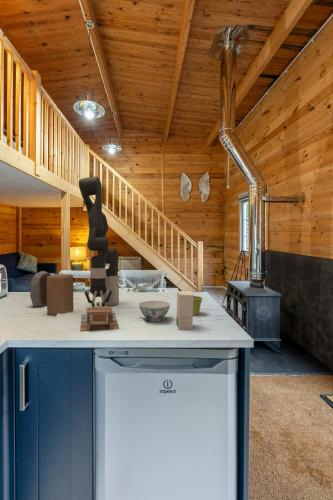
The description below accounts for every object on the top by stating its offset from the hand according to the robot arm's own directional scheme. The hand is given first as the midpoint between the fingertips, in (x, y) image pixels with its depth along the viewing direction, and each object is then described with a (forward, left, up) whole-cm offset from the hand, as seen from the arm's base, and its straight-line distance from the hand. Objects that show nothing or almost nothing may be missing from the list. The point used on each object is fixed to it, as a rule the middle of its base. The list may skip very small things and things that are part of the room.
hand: (98, 310), depth 151 cm
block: (+11, -19, -3) cm, 22 cm away
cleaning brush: (+11, -44, -3) cm, 45 cm away
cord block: (+2, +4, -1) cm, 5 cm away
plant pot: (-39, +29, -3) cm, 49 cm away
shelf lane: (+7, +13, -3) cm, 15 cm away
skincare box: (-19, +41, -3) cm, 46 cm away
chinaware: (-17, +23, -3) cm, 29 cm away
